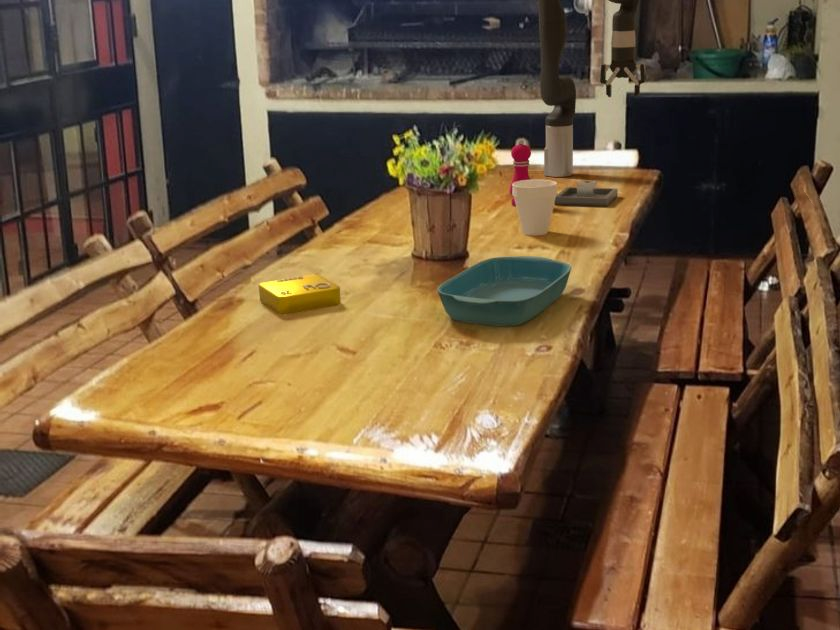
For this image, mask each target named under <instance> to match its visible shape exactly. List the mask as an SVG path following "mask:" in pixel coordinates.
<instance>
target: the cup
mask: <svg viewBox="0 0 840 630" xmlns="http://www.w3.org/2000/svg"><path fill="white" fill-rule="evenodd" d="M557 185H558V182H557V181H555V180H550V179H541V178H540V179H539V178H537V179H530V180H522V181H517V182H514V183H513V184H512V186H513V189H512V195H511V196H512V197H513V196H514V200H515V204H516V206H515V208H516V211H517V215H518V219H519V223H520V227H521V231H522V234H523V235H525V236H544V235H547V234H548V232H549V227H550V223H551V219H552V215H553V211H554V206H555V204H554V202H555V198H556V195H558V186H557Z"/></svg>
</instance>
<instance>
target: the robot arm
mask: <svg viewBox="0 0 840 630" xmlns="http://www.w3.org/2000/svg"><path fill="white" fill-rule="evenodd" d="M608 1H609V2H611V3H612V4H618V5H619V4H620V6H619V8H618V11H616V12H614V13H613V15H612V22H611V23H612V24H611V25H612V28H611V29H612V33H611V41H610V45H611V47H610V49H611V51H610V53H611V56H610V57H611V60H610V64H606V63H603V64H601V66H600V76H599V77H600V80H599V82H600V84H603V85H605V94H606V96H607V97H608V98H611V97H612V87H613V86H612V82H613V81H614V80H615V79H616V78H617V79H621V78H624V79H629V78H630V80H631V81H632V82H633V83H634V98H638V96H640V93H641V85H642V84H644V83H646V82H647V76H646V74H647V73H646V72H647V71H646V64H645V63H641V64H637V63H636V32H635V31H636V30H635V29H636V27H635V26H636V14H637V11H638V7H639V2H640V0H608ZM537 8H538V9H537V11H538V30H539V31H538V32H539V41H540V42H539V44H540V45H539V46H540V79H539V80H540V82H539V85H540V88H539V89H540V96H541V101H543V103H544V104H545V105H546V106H549V107H553V110H552V111H551V112H550V113H549V114H548V115H547V116H546V117H545V147H544V149H543V152H544V153H543V154H544V155H543V163H544V164H543V166H544V167H543V172H544V174H543V175H544V177H545V176H546V177H553V178H555V177H556V178H563V177H564V178H565V177H570V176H573V175H574V153H573V152H574V147H573V146H574V142H573V141H574V128H573V127H574V118H575V115H576V108H577V107H576V105H577V104H576V102H577V89H576V84H575V82H574V80H573V79H572V78H571V77H569V76H560V74H559V73H560V70H559V67H560V65H559V64H560V60H561V56H562V53H563V51H564V49H565V46H566V44H567V43H566V42H567V39H568V21H567V15H566V11H565V9H564V7H563V5H562V3H561V1H560V0H537ZM609 69H610V71H611V73H612V74H611V75H610V76H609V77H608V79H607V76H606V75H607V71H609ZM636 69H637V70H638V72H639V73H640V74H639V75H640V79H639V77H638V76H637V75H636V73H635V70H636Z"/></svg>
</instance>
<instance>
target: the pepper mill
mask: <svg viewBox="0 0 840 630" xmlns="http://www.w3.org/2000/svg"><path fill="white" fill-rule="evenodd" d="M510 155H511V158H512V159H513V161H512V163H513V164H512V165H513V167H514V173H513V178H512V180H511V183H510V185H509V195H511V196H512V189H513V186H512V184H513V183H514V182H517V181H522V180H531V177H530V174H529V166H530V165H531V164H530V158H531V156H532V150H531V148H530V147H529V145H527V144H525V141H524V139H521V138H520V139H519V140H518V141H517V144H516V145H514V146H513V147H512V149H511V152H510ZM511 206H513V207H516V204H515V200H514V196H512V198H511Z"/></svg>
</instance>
